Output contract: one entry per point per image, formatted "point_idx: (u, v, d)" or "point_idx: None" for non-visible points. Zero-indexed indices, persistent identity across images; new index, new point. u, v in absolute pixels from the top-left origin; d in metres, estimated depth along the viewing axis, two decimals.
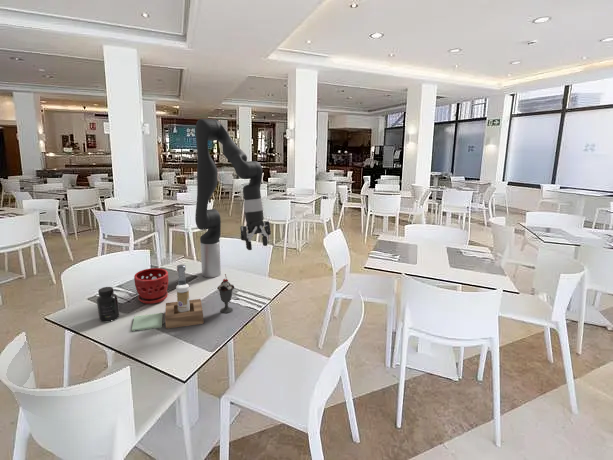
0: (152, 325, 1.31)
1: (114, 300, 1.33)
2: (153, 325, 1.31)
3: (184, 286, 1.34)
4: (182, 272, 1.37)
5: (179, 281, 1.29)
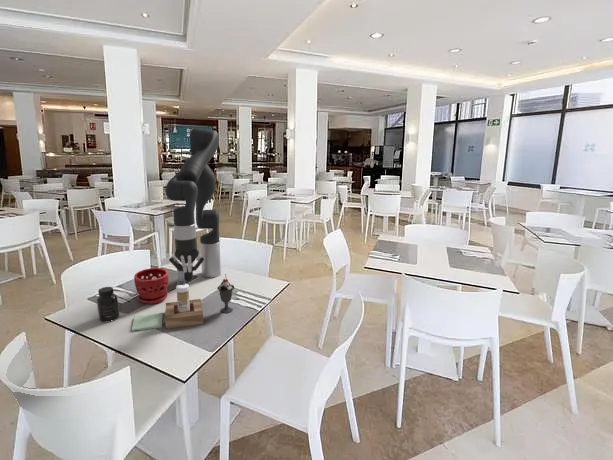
0: (152, 325, 1.31)
1: (114, 300, 1.33)
2: (153, 325, 1.31)
3: (184, 286, 1.34)
4: (182, 272, 1.36)
5: (178, 281, 1.29)
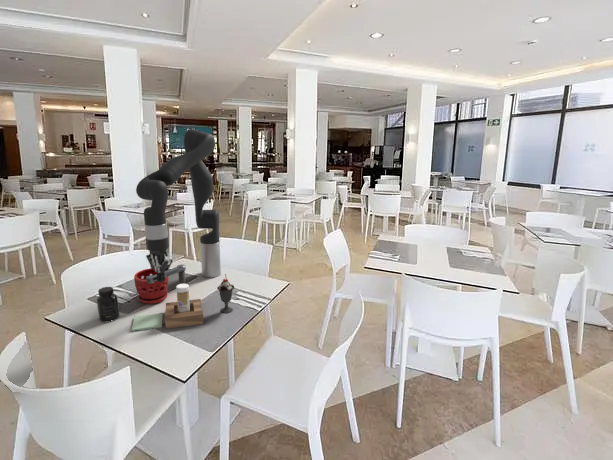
0: (152, 325, 1.31)
1: (114, 300, 1.33)
2: (153, 325, 1.31)
3: (184, 286, 1.34)
4: (167, 271, 1.37)
5: (146, 278, 1.31)
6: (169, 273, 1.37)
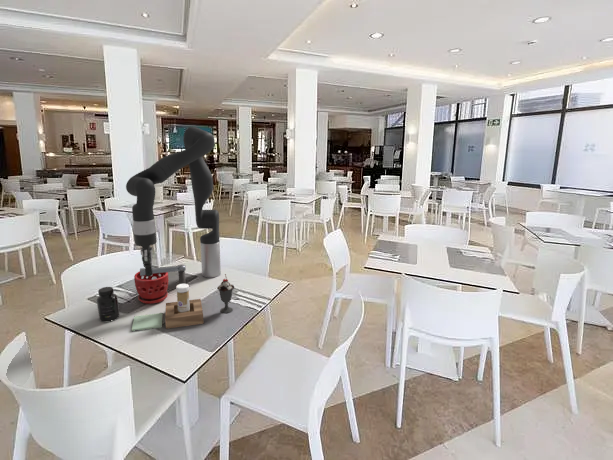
0: (152, 325, 1.31)
1: (114, 300, 1.33)
2: (153, 325, 1.31)
3: (184, 286, 1.34)
4: (162, 268, 1.40)
5: (140, 269, 1.38)
6: (163, 270, 1.40)
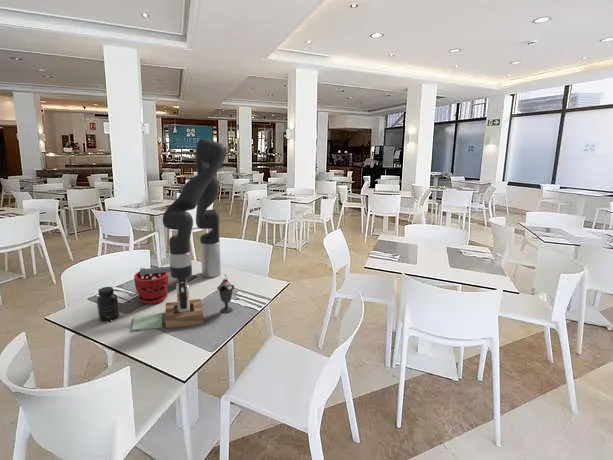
0: (152, 325, 1.31)
1: (114, 300, 1.33)
2: (153, 325, 1.31)
3: None
4: (162, 268, 1.40)
5: (140, 269, 1.39)
6: (163, 270, 1.40)
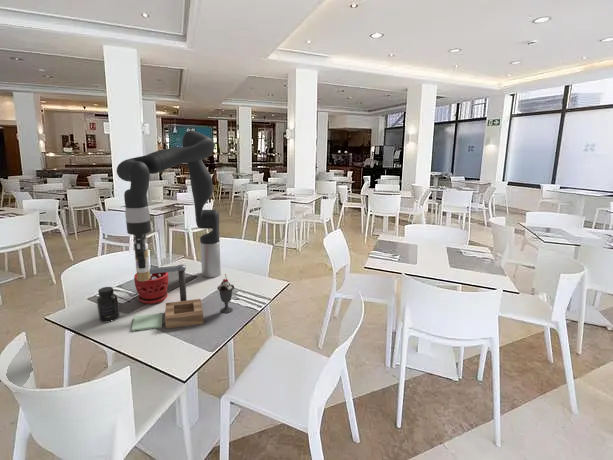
0: (152, 325, 1.31)
1: (114, 300, 1.33)
2: (153, 325, 1.31)
3: None
4: (162, 268, 1.40)
5: None
6: (163, 270, 1.40)
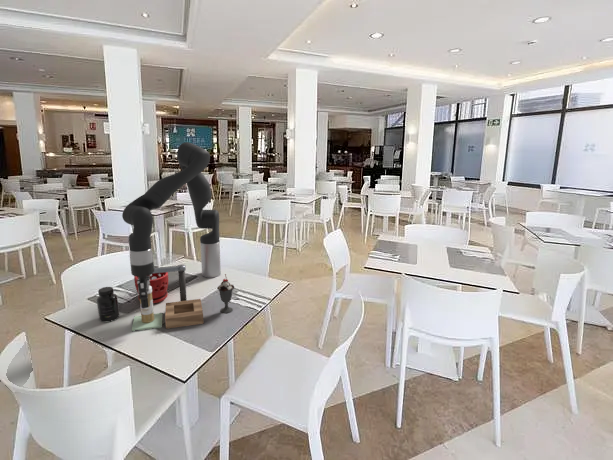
0: (152, 325, 1.31)
1: (114, 300, 1.33)
2: (153, 325, 1.31)
3: None
4: (162, 268, 1.40)
5: None
6: (163, 270, 1.40)
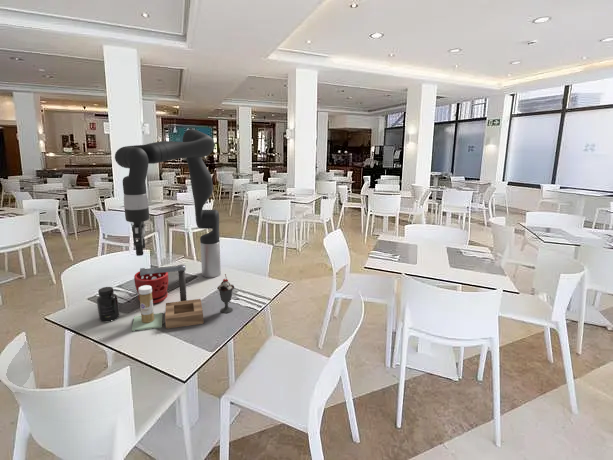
0: (152, 325, 1.31)
1: (114, 300, 1.33)
2: (153, 325, 1.31)
3: (146, 288, 1.30)
4: (162, 268, 1.40)
5: (140, 269, 1.39)
6: (163, 270, 1.40)
